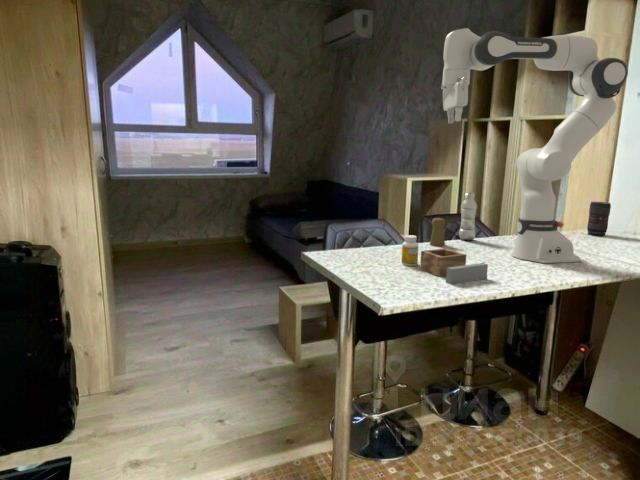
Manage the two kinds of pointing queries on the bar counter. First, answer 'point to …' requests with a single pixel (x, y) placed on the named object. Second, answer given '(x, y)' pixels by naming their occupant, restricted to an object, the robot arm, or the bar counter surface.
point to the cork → (437, 232)
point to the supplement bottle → (410, 251)
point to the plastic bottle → (468, 217)
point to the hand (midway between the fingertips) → (454, 122)
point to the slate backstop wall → (466, 273)
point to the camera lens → (598, 218)
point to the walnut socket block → (441, 260)
